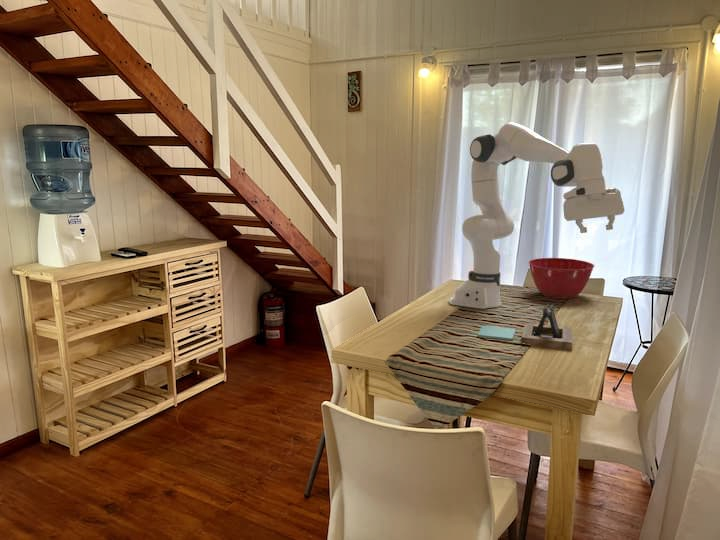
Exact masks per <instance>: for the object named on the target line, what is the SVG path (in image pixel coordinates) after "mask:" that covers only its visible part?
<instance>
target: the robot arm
mask: <svg viewBox="0 0 720 540" xmlns="http://www.w3.org/2000/svg"><path fill="white" fill-rule="evenodd" d="M469 153H470V157H471V158H472V159H473V160H472V163H471V174H470V175H471V178H470V179H471V193H472V202H473V203H474V204H475V205H476V206H477V207H479V209H480V211H481V214H477V215H473V216H470V217H468V218H466V219H465V220H464V221H463V223H462V227H461V231H462V234H463V237H464V238H465V239H466V240H467V241H468V242H469V244H470V246H471V249H472V254H473V269H470V271H468V275H467V278H468V279H467V280H466V281H464V282H463V283H461V284H460V285H458V286H457V288H456V289H455V291H454V296H451V297H450V298H449V300H448V303H449V304H450V305H454V306H459V307H460V306H461V307H467V308H475V309H482V310H483V309H488V308H490V309H491V308H496V307H500V306H502V305H503V303H502V300H501V293H500V292H501V291H500V284H501V272H500V267H501V254H500V253H499V251H497V250H496V249H495V247H494V242H493V241H494V240H501V239H502V240H503V239H504V238H507V237H509V236H510V235H512V233H513V232H514V230H515V223H514V219H513V218H512V217H511V216H510V215H508V213H507V211H506V210H505V208H504V206H503V204H502V200H501V196H500V195H501V194H500V188H499V187H500V186H499V175H498V169H499V166H500V165H503V166H505V165H507V164H509V163H510V162H513V161H515V160H516V159H519V160H521V161H525V162H531V163H533V162H534V163H550V164H552V167H551V169H550V179H551V181H552V183H553V184H554V185H555V186H557V187H562V188H563V187H564V188H565V187H566V188H567V187H573V189H571V190H569V191H566V192H564V193H563V199H564V201H563V204H562V205H563V217H564V219H565V220H566V222H570V221H571V222H572V221H575V224H576V226H577V227H578V229H579V232H580V234H584V233H586V234H587V233H588V230H587V229H588V227H587V226H584V224H583V222H584V220H586V219H587V220H588V219H597V218H607V220H608V223H607V224H606V225H605V230H606V231H611V230H614V225H613V224H614V223H615V221H616V220H615V219H616V216H620V215H623V214H624V212H625V206H624V202H623V197H622V195H621V194H622V193H621V191H620V190H619V189H618V188H615V187H612V188H606V180H605V176H604V175H603V168H604V167H603V161H602V160H603V159H602V154H601V151H600V148H599V146H598V144H596V143H593V142H591V143H590V142H586V143H584V142H583V143H582V142H581V143H577V144H575V145H573V146H572V148H571V149H570V151H569V150H568V149H565V148H564V147H562V146H559V145H557V144H556V143H553V142H552V141H550V140H548V139H546V138H545V137H543V136H541V135H539V134H538V133H536V132H534V131H533V130H531V129H530V128H528V127H525V126H523V125H522V124H519V123H515V122H507V123H505V124H504V125H503V126H501V128H500V129H499V130H498V133H496V134H491V133H490V134H484V135H479V136H477V137H475V138H474V139H473V140H472V141H471V143H470V146H469ZM574 187H575V188H574Z"/></svg>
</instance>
